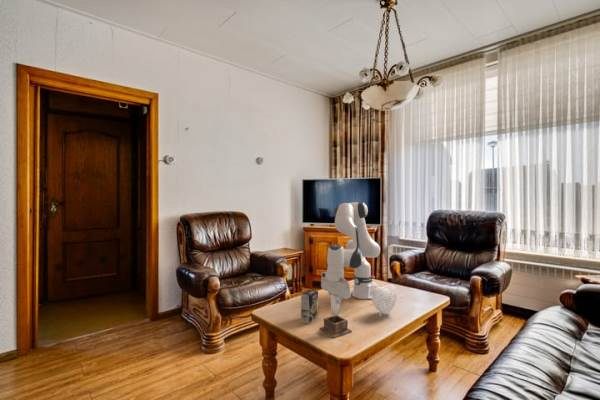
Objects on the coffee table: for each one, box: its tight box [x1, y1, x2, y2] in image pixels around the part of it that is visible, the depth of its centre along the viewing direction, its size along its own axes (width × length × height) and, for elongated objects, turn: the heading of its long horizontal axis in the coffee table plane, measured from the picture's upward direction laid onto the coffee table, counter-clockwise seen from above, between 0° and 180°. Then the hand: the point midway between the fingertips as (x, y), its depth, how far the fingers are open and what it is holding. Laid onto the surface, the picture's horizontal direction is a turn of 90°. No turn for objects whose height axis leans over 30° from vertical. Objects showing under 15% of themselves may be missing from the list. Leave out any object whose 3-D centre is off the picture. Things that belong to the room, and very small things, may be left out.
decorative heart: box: [371, 284, 398, 316], centre depth 177 cm, size 18×11×17 cm, turn 122°
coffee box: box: [300, 289, 319, 325], centre depth 169 cm, size 9×6×16 cm
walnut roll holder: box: [319, 315, 353, 339], centre depth 156 cm, size 12×12×6 cm
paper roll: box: [330, 293, 340, 316], centre depth 156 cm, size 4×4×10 cm
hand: (335, 302), depth 156 cm, fingers closed on paper roll, 4 cm apart
